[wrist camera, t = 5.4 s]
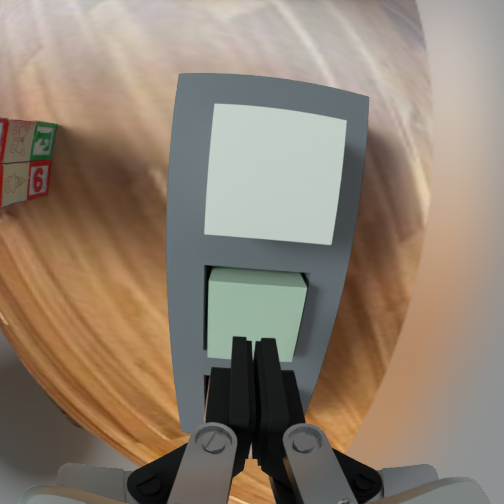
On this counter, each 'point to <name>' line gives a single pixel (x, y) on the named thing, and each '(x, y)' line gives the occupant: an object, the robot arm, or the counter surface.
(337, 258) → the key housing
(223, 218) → the key cream
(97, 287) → the counter surface
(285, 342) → the key sage
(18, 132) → the stack of blocks
